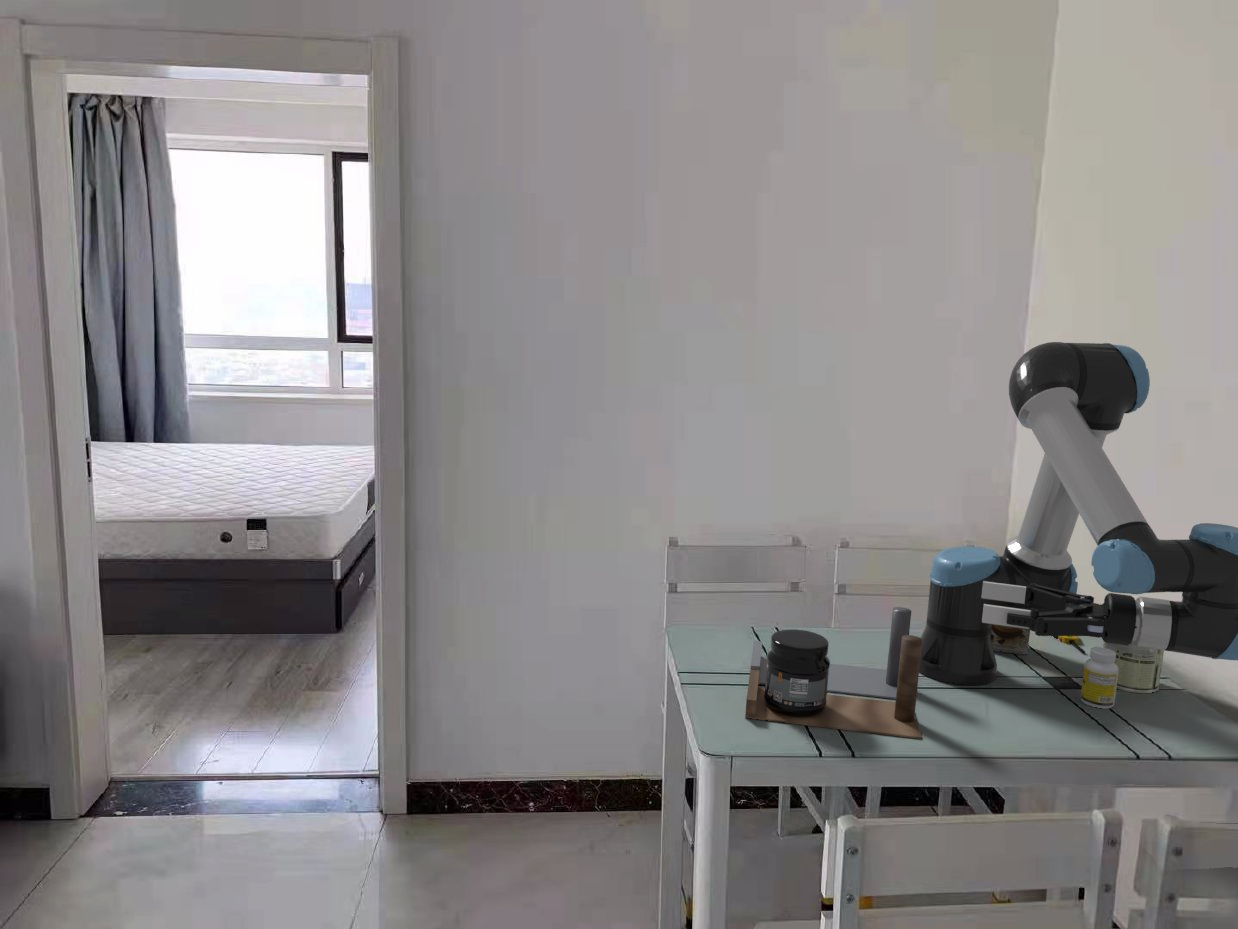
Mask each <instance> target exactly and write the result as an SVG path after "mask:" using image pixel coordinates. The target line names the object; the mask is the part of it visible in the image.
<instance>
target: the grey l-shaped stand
mask: <svg viewBox="0 0 1238 929" xmlns="http://www.w3.org/2000/svg"><path fill="white" fill-rule="evenodd" d="M911 617H912V609H910V608H907V607H904V606H903V607H902V606H900V607H899V606H896V607H893V608H892V614H891V626H890V635H889V643H888V644H889V645H888V646H889V647H888V654H887V667H886V669H884V668H874V667H866V666H865V667H864V666H856V665H847V664H837V663H830V667H829V674H828V686H827V693H838V694H846V695H856V696H864V697H872V698H873V697H874V698H881V699H892V700H896V693H897V683H898V673H899V662H900V652H901V642H902V636H904V635H910V630H911V629H910V628H911V620H912V619H911ZM762 649H763V641H760V640H753V645H752V653H751V661H750V670H757V671H759V683H758V685H765V684H766V671H767V656H764V655H763V656H762ZM750 670H749V671H750Z"/></svg>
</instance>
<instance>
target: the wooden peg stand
mask: <svg viewBox="0 0 1238 929" xmlns="http://www.w3.org/2000/svg"><path fill="white" fill-rule="evenodd" d="M921 648H922V639H921V636H920V637H919V636H916V635H913V634H911V635H910V634H909V635H904V636H902V642H901V652H900V662H899V673H898V683H897V693H896V699H895V701H890V700H889V701H888V700H880V699H872V698H863V697H856V696H854V697H853V696H845V695H836V694H828V693H827V697H826V700H827V703H826V707H825V709H824V710H823V711H822V712H821V713H819V714H817V715H814V716H809V717H794V716H788V715H784V714H781V713H779V712H776V711H775V710H773V709H772V708H770V707H769V706H768V705H767V704H766V702H765V699H764V693H765V686H759V684H758V683H759V671H757V670H749V676H748V684H747V693H746V702H745V717H744V718H745V719H748V718H752V719H751V720H756V719H759V720H758V721H765V720H768V721H767V722H773V721H775V722H776V723H782V722H785V723H784V724H790V723H791V724H792V725H799V724H803V725H802V726H806V727H807V726H809V727H818V728H824V729H825V728H826V729H832V730H833V729H834V730H842V731H850V732H851V731H852V732H860V733H867V734H876V735H882V736H884V735H886V736H891V737H892V736H893V737H900V738H901V737H902V738H911V739H919V740H922V737H923V736H922V735H921V730H920V727H919V724H918V720H917V717H916V706H917V704H916V703H917V695H918V687H919V676H920V672H919V667H920V658H921ZM775 722H774V723H775Z"/></svg>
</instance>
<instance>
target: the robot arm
mask: <svg viewBox="0 0 1238 929" xmlns="http://www.w3.org/2000/svg"><path fill="white" fill-rule="evenodd" d="M1012 368H1013V369H1012V371H1011V373H1010V377H1009V381H1008V396H1009V400H1010V404H1011V405H1010V406H1011V408H1012V410H1013V413H1014V415H1015V417H1016V418H1017V420H1018V422H1019V423H1020V424H1021V425H1022V427H1024V428H1026V429H1029V430H1031V431H1032V432H1033V435H1034V436H1035V438H1036V440H1037V442H1038V443H1039V446H1040V447H1041V449H1042V451H1043V452H1044V454H1043V457H1042V460H1041V463H1040V467H1039V469H1038V474H1037V476H1036V479H1035V482H1034V486H1033V489H1032V491H1031V492H1032V493H1031V495H1030V499H1029V501H1028V505H1027V508H1026V510H1025V513H1024V514H1025V515H1024V517H1023V520H1022V524H1021V526H1020V530H1019V533H1018V535H1015V536H1014V537H1011V538H1009V539H1008V540H1007V542H1006V545H1005V549H1004V551H1003V554H1002V555H1000V554H998V553H997V552H996V551H994V550H993V549H990V548H986V547H981V546H974V547H973V546H968V545H967V546H966V545H964V546H955V547H949V548H946V549H943V550H940V551H939V552H938V553H937V554H936V555H935V556H934V558H933V562H932V566H931V571H930V574H929V579H930V584H929V593H928V601H927V602H928V603H927V611H926V612H927V613H926V622H925V627H924V629H923V632H922V634H921V636H920V638H921V639H922V648H921V658H920V667H919V673H921V674H923V675H924V676H927V677H929V678H932V679H934V680H938V681H942V682H945V683H950V684H955V685H965V686H978V685H986V684H989V683H992V682H993V681H994V680H996V678H997V670H998V664H997V659H996V655H995V651H994V650H993V645H992V641H991V627H992V624H996V625H1003V626H1010V627H1017V628H1024V629H1029V628H1030V632H1031V631H1032V632H1034V634H1035V635H1036V636H1038V637H1052V636H1078V637H1092V638H1101V639H1102V642H1103V641H1104V642H1106V643H1112V644H1119V645H1126V646H1128V645H1130V644H1131V642H1133V644H1134V645H1135V646H1136V647H1143V648H1148V651H1149V652H1155V649H1158V650H1164V652H1165V651H1166V652H1173V653H1178V654H1184V655H1185V654H1186V655H1191V656H1197V657H1205V658H1209V659H1212V660H1224V661H1225V660H1227V661H1238V527H1237V526H1232V525H1228V524H1222V523H1221V524H1219V523H1209V522H1206V523H1205V522H1204V523H1203V522H1202V523H1197V524H1194V525H1193V526H1192V528H1191V530H1190V534H1189V535H1188V539H1159V538H1158V536H1157V534H1156V533H1155V532H1154V530H1153V528H1152V527H1151V526H1150V524H1149V522H1148V521H1147V520H1146V517H1145V516H1144V514H1143V513H1142V511H1141V509H1140V508H1139V507H1138V505H1137V503H1136V501H1135V500H1134V498H1133V496H1132V495H1131V493H1130V492H1129V490H1128V489H1127V486H1126V485H1125V483H1124V482H1123V480H1122V479H1121V477H1120V475H1119V474H1118V472H1117V470H1116V468H1115V467H1114V465H1113V463H1112V462H1111V460H1110V459H1109V457H1108V455H1107V454H1106V452H1105V451H1104V449H1103V446H1104V443H1105V440H1106V437H1107V436H1108V435H1109V434H1111V433H1114V432H1116V431H1118V430H1119V428H1120V426H1121V424H1122V421H1123V419H1124V418H1123V417H1124V415H1125V414H1130V413H1133V412H1136V411H1137V410H1138V409H1140V408H1141V407H1142V406H1144V404H1145V402H1146V401H1147V398H1148V396H1149V394H1150V393H1149V391H1150V385H1151V382H1150V380H1151V379H1150V372H1149V369H1148V368H1147V365H1146V362H1145V360H1144V358H1143V357H1142V355H1141V354H1140V353H1139V352H1138V351H1136V349H1134V348H1132V347H1130V346H1127V345H1122V344H1121V345H1120V344H1112V343H1111V342H1104V343H1103V342H1102V343H1095V342H1094V343H1093V342H1091V343H1089V342H1088V343H1087V342H1085V343H1084V342H1063V341H1062V342H1061V341H1051V342H1046V343H1040V344H1038V345H1036V346H1034V347H1032V348H1030V349H1029V350H1027V351H1026V352H1025V353H1024V354H1022V356H1021V357H1019V359H1018V360H1017V361H1016V363H1015V365H1014V367H1012ZM1079 516H1080V517H1081V519H1082V521H1083V523H1084V524H1085V526H1086V528H1087V529H1088V531H1089V533H1090V535H1091V537H1092V538H1093V540H1094V542H1095V544H1096V548H1095V549H1094V550H1093V553H1092V556H1091V563H1090V565H1091V567H1093V572H1092V574H1093V577H1094V579H1095V581H1096V582H1097V584H1098V585H1099V586H1100V587H1101V588H1102V589H1104V590H1106V591H1107V592H1108V593H1107V594H1106V595H1105V596H1104V600H1103V603H1100V604H1099V603H1097V602H1096V603H1095V602H1094V601H1095V597H1094V596H1092V595H1087V594H1086V595H1084V594H1078V593H1077V592H1078V586H1079V584H1078V583H1079V582H1078V581H1076V579H1077V578H1078V574H1077V570H1076V567H1075V566H1074V564H1073V558H1072V556H1071V554H1070V553H1069V552H1068V547H1069V545H1070V541H1071V538H1072V536H1073V533H1074V529H1075V527H1076V524H1077V520H1078V518H1079ZM1150 593H1151V594H1153V593H1154V594H1155V593H1156V594H1157V593H1181V598H1182V599H1181V601H1179V600H1178V601H1174V600H1169V599H1165V598H1164V599H1163V598H1156V597H1154V598H1153V597H1148V596H1147V597H1146V596H1138V597H1137V598H1136V599H1135V597H1133V596H1132V595H1143V594H1150ZM1128 594H1130V595H1128Z"/></svg>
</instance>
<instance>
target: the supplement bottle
mask: <svg viewBox="0 0 1238 929" xmlns="http://www.w3.org/2000/svg"><path fill="white" fill-rule="evenodd" d="M1089 657H1090V658H1089V659H1087V660H1086V661H1085V662H1084V666H1083V674H1082V682H1081V683H1082V684H1081V691H1080V701H1082V703H1083V704H1085V705H1087V706H1089V705H1090V706H1089V707H1091V706H1092V707H1093V708H1095V707H1097V708H1096V709H1100V708H1102V709H1103V710H1107V709H1108V710H1109V709H1112V708H1113V707H1114V705H1115V703H1116V702H1115V700H1116V694H1117V689H1116V687H1117V679H1118V666H1117V665H1116V664H1115V663H1113V662H1115V658H1116V653H1115V652H1114V651H1113V650H1110V649H1107V648H1103V646H1102V647H1101V646H1094V647H1091V649H1090V652H1089ZM1092 707H1091V708H1092ZM1102 709H1101V710H1102Z"/></svg>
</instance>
